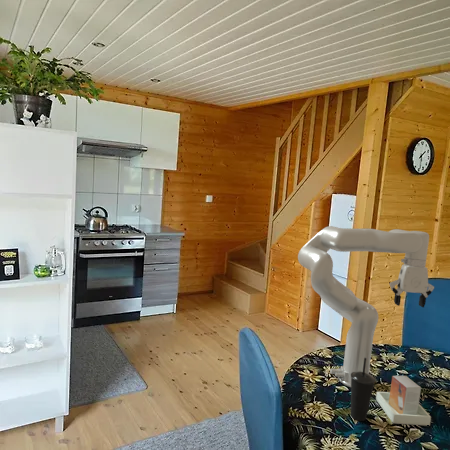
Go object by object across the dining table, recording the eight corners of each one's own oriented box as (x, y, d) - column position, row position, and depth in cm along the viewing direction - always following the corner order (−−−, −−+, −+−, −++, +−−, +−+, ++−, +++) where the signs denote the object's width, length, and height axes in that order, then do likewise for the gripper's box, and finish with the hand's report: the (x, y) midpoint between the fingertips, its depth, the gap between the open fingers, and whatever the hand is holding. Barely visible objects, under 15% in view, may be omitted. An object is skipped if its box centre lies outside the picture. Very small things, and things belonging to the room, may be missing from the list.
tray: (393, 423, 128) (394, 414, 128) (376, 399, 142) (377, 391, 142) (429, 425, 128) (431, 416, 128) (409, 401, 142) (410, 393, 142)
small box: (388, 404, 139) (391, 375, 138) (402, 403, 140) (406, 375, 139) (402, 417, 131) (406, 387, 130) (417, 417, 132) (421, 387, 131)
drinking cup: (351, 407, 136) (358, 351, 134) (373, 416, 131) (381, 358, 129) (342, 416, 130) (349, 357, 128) (365, 426, 125) (373, 366, 123)
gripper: (397, 263, 151) (391, 306, 153) (442, 266, 151) (436, 310, 153) (388, 259, 158) (383, 301, 160) (431, 262, 159) (425, 304, 160)
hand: (409, 305), depth 156 cm, fingers open, 9 cm apart
